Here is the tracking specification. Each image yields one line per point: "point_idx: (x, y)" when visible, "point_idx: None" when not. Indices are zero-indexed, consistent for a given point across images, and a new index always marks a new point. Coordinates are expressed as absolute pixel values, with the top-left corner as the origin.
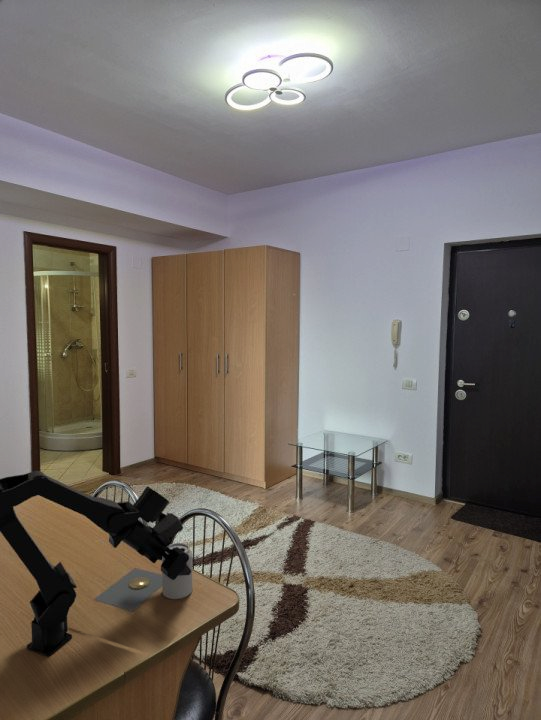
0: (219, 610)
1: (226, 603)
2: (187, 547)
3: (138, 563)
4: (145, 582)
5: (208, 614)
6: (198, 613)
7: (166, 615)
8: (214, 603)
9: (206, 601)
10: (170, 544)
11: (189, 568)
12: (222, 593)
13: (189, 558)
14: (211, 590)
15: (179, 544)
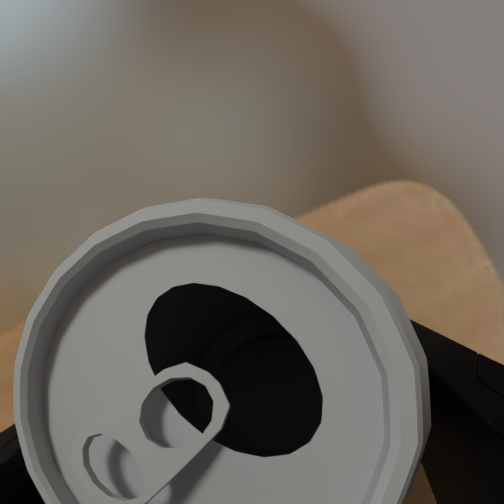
0: (480, 254)
1: (445, 213)
2: (188, 231)
3: (5, 416)
4: None
5: (491, 304)
6: (473, 343)
7: (420, 481)
8: (433, 256)
9: (407, 283)
10: (16, 427)
11: (423, 327)
12: (373, 201)
13: (384, 287)
14: (331, 235)
15: (57, 311)
